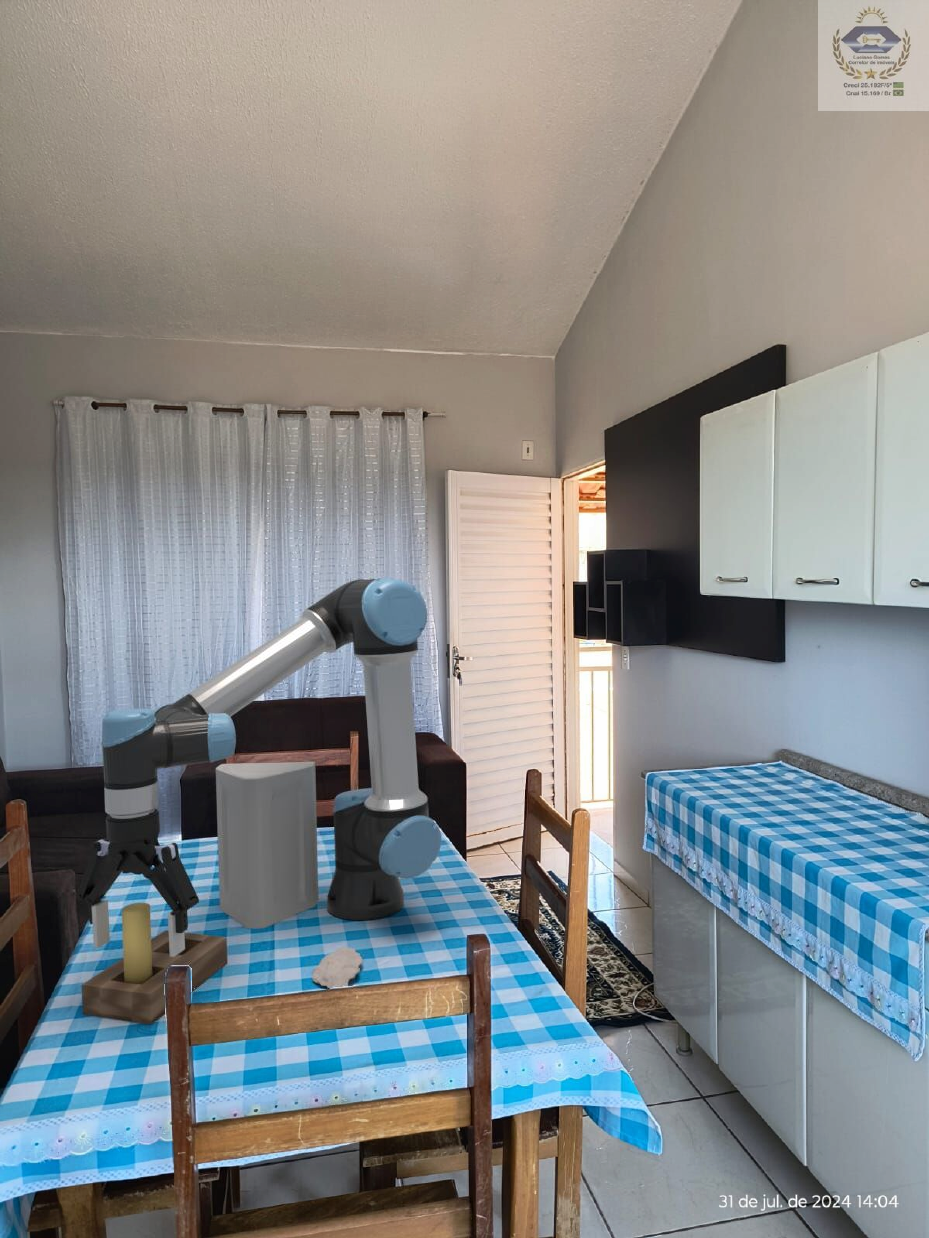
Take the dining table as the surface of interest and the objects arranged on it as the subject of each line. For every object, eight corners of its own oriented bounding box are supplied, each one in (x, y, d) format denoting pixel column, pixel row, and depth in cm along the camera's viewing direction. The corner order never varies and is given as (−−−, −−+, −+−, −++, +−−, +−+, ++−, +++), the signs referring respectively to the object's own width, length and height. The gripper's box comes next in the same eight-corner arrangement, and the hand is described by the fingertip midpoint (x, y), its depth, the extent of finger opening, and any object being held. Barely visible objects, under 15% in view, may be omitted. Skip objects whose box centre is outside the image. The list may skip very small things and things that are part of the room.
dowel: (158, 992, 127) (155, 903, 126) (141, 1005, 123) (138, 913, 122) (136, 989, 128) (133, 901, 127) (119, 1002, 124) (116, 911, 123)
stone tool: (364, 996, 126) (360, 960, 141) (365, 976, 126) (361, 942, 141) (311, 998, 125) (313, 961, 140) (312, 978, 125) (313, 943, 140)
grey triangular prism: (203, 930, 152) (199, 780, 151) (225, 899, 167) (221, 763, 166) (306, 927, 152) (302, 778, 151) (319, 897, 167) (315, 761, 166)
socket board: (227, 963, 138) (226, 937, 138) (151, 1024, 119) (150, 994, 119) (166, 955, 141) (165, 930, 141) (82, 1014, 122) (81, 984, 122)
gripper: (218, 808, 124) (224, 945, 125) (82, 801, 131) (88, 930, 132) (188, 822, 117) (195, 967, 118) (46, 814, 124) (53, 951, 125)
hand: (139, 948), depth 125 cm, fingers open, 13 cm apart
